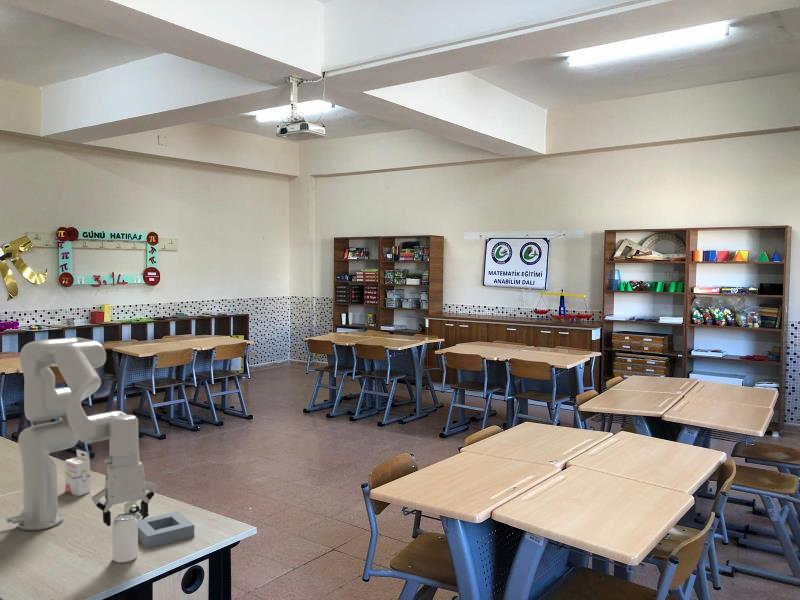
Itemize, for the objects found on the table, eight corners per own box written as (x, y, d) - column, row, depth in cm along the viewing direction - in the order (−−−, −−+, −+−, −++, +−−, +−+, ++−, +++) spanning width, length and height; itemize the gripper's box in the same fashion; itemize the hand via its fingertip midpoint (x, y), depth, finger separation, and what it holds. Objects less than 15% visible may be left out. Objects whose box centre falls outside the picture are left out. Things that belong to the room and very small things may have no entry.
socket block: (147, 548, 190) (147, 536, 190) (132, 532, 201) (132, 521, 201) (194, 536, 199) (194, 524, 199) (178, 521, 210) (177, 511, 210)
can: (113, 565, 179) (113, 522, 179) (112, 556, 185) (111, 514, 184) (138, 560, 182) (138, 518, 182) (136, 551, 188) (136, 510, 187)
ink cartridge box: (64, 491, 237) (63, 451, 236) (77, 488, 241) (76, 448, 240) (78, 496, 232) (77, 455, 231) (91, 492, 236) (90, 452, 235)
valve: (119, 517, 214) (126, 529, 204) (118, 497, 213) (126, 508, 204) (140, 512, 217) (148, 524, 208) (139, 493, 217) (148, 504, 207)
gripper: (94, 469, 174) (96, 532, 174) (160, 457, 184) (161, 516, 185) (87, 462, 180) (89, 524, 180) (151, 451, 190) (153, 509, 191)
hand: (126, 520), depth 183 cm, fingers open, 9 cm apart
